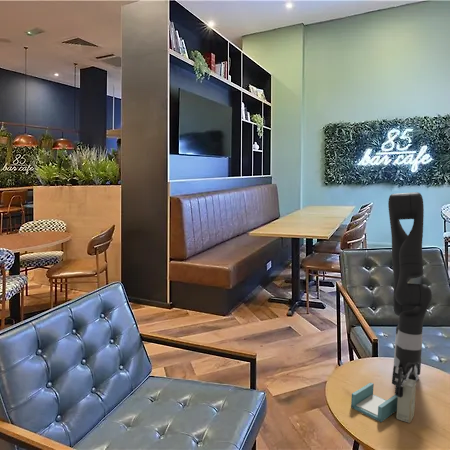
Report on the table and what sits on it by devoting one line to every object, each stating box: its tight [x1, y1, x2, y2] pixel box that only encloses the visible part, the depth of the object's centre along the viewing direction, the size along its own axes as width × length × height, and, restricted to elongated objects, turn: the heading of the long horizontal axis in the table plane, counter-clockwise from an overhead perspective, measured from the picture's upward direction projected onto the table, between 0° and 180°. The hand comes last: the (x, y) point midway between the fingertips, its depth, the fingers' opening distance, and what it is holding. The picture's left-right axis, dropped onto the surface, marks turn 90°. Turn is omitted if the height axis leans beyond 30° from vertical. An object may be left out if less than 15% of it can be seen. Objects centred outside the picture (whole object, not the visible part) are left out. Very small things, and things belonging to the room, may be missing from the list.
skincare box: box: [395, 378, 417, 424], centre depth 136 cm, size 6×4×12 cm
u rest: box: [350, 382, 398, 423], centre depth 141 cm, size 12×11×5 cm
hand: (405, 392), depth 136 cm, fingers open, 8 cm apart
